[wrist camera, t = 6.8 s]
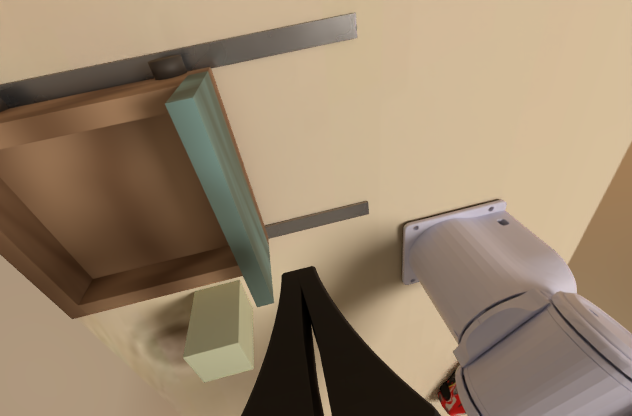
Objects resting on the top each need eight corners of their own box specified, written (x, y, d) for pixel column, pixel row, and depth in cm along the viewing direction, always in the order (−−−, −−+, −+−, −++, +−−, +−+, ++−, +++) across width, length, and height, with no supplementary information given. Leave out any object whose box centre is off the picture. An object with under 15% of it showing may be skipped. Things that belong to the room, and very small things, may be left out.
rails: (354, 12, 16) (355, 12, 16) (368, 212, 25) (368, 213, 24) (-65, 97, 15) (-69, 98, 15) (98, 279, 23) (96, 281, 23)
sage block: (239, 279, 26) (238, 342, 21) (252, 306, 29) (253, 369, 24) (194, 291, 26) (182, 357, 21) (211, 317, 28) (204, 382, 23)
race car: (479, 336, 42) (504, 371, 38) (515, 335, 44) (542, 368, 40) (428, 395, 50) (444, 429, 46) (460, 392, 52) (478, 424, 48)
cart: (205, 48, 16) (183, 73, 10) (270, 238, 24) (277, 311, 18) (-55, 101, 15) (-234, 160, 9) (103, 279, 23) (58, 368, 17)
